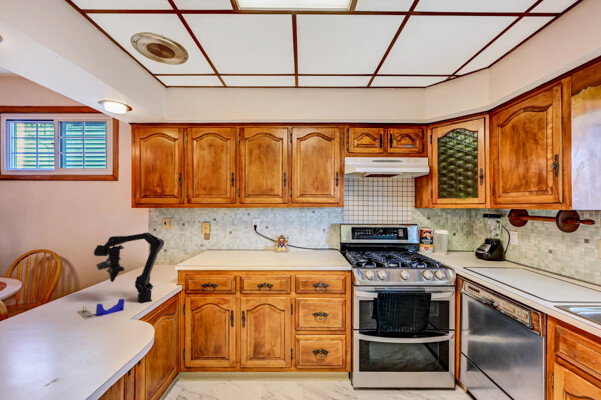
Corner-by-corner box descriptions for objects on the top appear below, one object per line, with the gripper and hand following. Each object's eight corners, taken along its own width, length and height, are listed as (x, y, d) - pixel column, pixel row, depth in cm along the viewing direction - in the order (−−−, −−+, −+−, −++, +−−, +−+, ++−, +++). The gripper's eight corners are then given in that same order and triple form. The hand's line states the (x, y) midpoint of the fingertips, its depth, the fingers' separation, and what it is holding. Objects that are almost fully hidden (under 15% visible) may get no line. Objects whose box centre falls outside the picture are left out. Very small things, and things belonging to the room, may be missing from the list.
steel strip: (86, 310, 146) (87, 303, 146) (94, 316, 136) (95, 309, 136) (77, 311, 143) (77, 304, 143) (85, 319, 133) (85, 311, 133)
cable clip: (119, 309, 149) (120, 298, 149) (123, 310, 147) (124, 299, 147) (94, 315, 139) (95, 303, 139) (98, 317, 136) (99, 305, 137)
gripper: (93, 255, 163) (91, 281, 162) (103, 259, 151) (101, 286, 150) (114, 254, 172) (112, 278, 170) (125, 257, 160) (123, 283, 159)
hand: (112, 281), depth 162 cm, fingers closed
